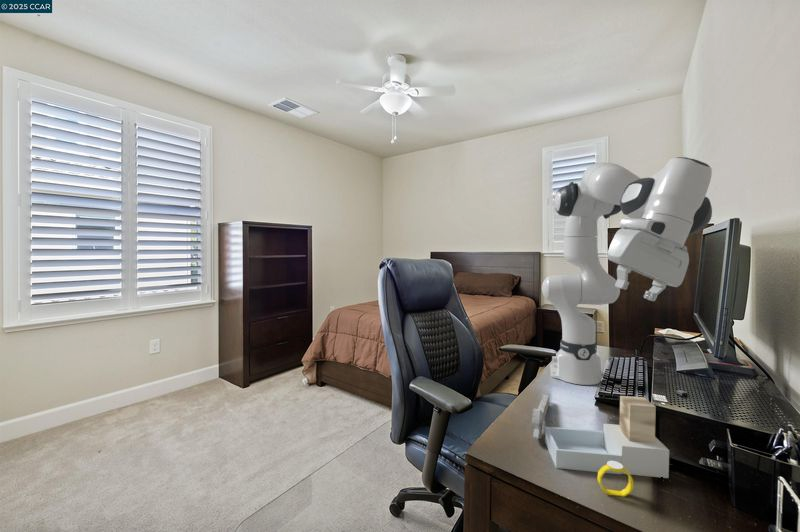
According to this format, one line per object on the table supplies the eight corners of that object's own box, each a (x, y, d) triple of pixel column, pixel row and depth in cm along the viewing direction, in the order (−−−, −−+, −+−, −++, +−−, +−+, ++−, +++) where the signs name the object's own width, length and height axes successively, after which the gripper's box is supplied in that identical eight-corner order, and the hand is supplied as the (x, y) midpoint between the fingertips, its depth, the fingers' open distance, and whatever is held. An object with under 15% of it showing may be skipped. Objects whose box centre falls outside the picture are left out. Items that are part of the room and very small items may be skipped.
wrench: (549, 412, 111) (538, 448, 84) (543, 411, 111) (530, 446, 85) (549, 386, 111) (539, 414, 85) (543, 385, 112) (531, 412, 85)
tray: (545, 442, 88) (545, 426, 87) (601, 447, 85) (601, 431, 85) (556, 467, 77) (556, 450, 77) (620, 474, 75) (621, 456, 75)
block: (619, 429, 82) (620, 395, 82) (643, 431, 81) (644, 397, 81) (629, 440, 77) (630, 405, 77) (654, 443, 76) (655, 406, 76)
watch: (601, 498, 68) (599, 467, 68) (596, 488, 71) (594, 459, 71) (636, 500, 67) (634, 469, 67) (629, 490, 70) (627, 461, 70)
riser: (603, 448, 85) (603, 423, 85) (644, 451, 83) (644, 426, 83) (621, 473, 75) (621, 446, 75) (668, 478, 74) (669, 450, 73)
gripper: (675, 246, 81) (651, 302, 82) (616, 216, 74) (590, 277, 75) (705, 250, 75) (679, 310, 76) (645, 218, 68) (616, 285, 69)
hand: (634, 294), depth 76 cm, fingers open, 8 cm apart
